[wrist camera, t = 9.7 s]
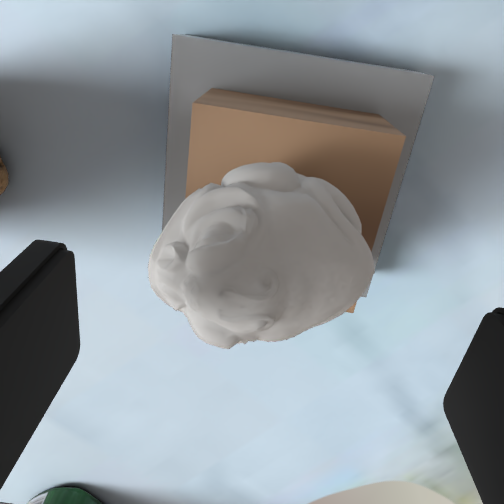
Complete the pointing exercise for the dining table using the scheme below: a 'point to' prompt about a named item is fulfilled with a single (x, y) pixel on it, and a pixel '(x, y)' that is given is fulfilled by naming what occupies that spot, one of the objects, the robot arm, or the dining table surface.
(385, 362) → the dining table surface
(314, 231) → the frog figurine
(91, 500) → the coffee jar
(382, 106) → the slate plinth
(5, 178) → the block
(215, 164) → the walnut block
